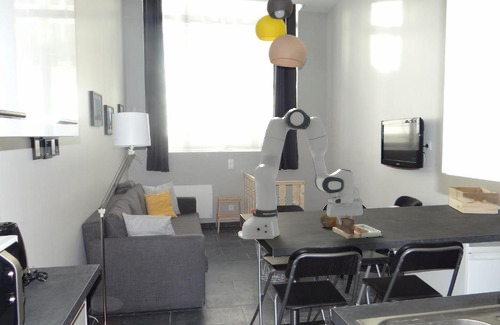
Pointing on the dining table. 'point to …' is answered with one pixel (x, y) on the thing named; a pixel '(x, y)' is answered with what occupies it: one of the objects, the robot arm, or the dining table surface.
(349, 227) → the tall tan block
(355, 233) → the board
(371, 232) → the tray
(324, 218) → the tin
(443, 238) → the dining table surface
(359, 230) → the tile
